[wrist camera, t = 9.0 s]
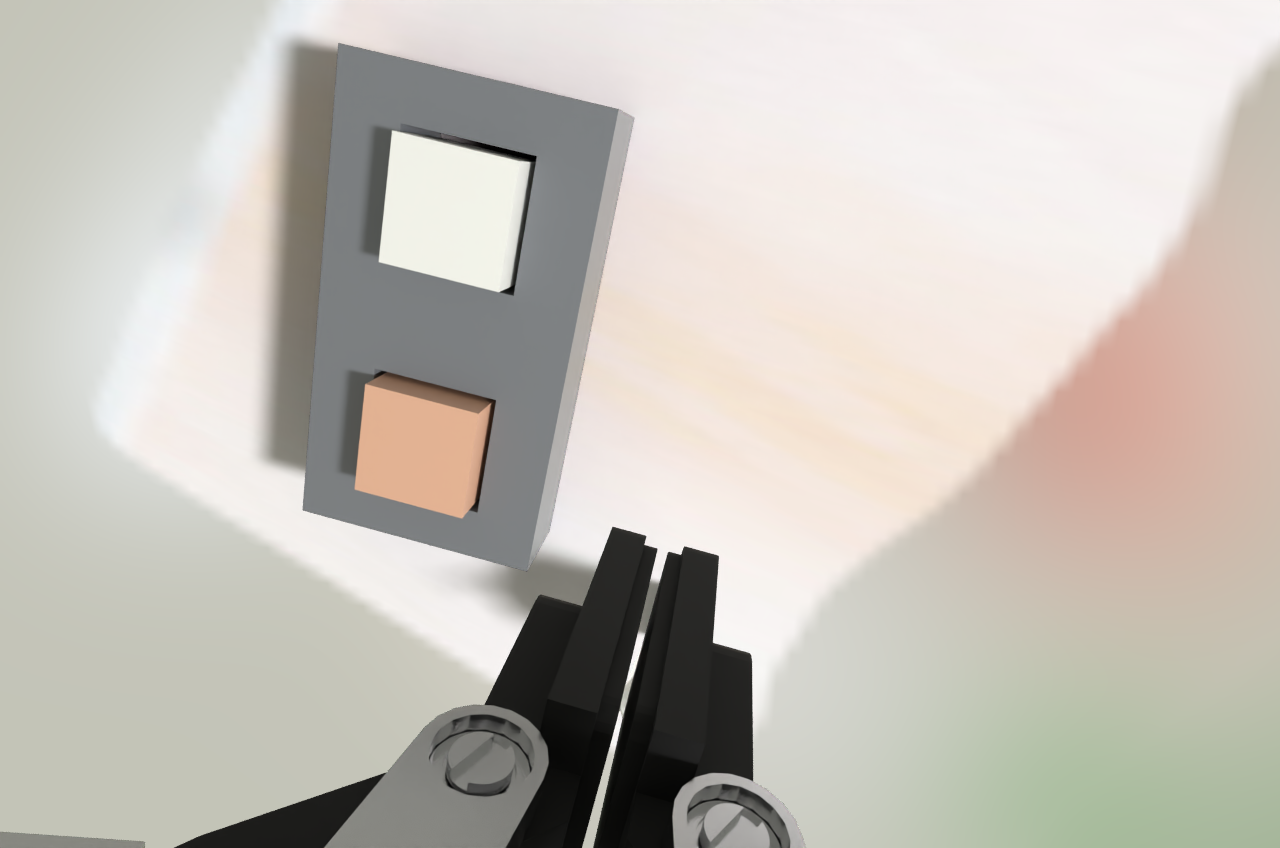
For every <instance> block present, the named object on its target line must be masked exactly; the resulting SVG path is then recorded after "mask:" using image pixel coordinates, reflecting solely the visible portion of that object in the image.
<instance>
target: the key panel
mask: <svg viewBox="0 0 1280 848" xmlns="http://www.w3.org/2000/svg"><path fill="white" fill-rule="evenodd" d="M633 122H634V117H632V116H630V115H628V114H627V113H625V112H623V111H621V110H619V109H616V108H611V107H607V106H603V105H599V104H594V103H590V102H586V101H582V100H578V99H573V98H569V97H565V96H561V95H556V94H552V93H548V92H544V91H539V90H535V89H531V88H527V87H523V86H518V85H514V84H510V83H506V82H501V81H497V80H493V79H489V78H484V77H480V76H476V75H472V74H468V73H463V72H459V71H455V70H451V69H446V68H442V67H438V66H434V65H429V64H425V63H421V62H417V61H413V60H408V59H404V58H400V57H396V56H391V55H387V54H383V53H379V52H374V51H370V50H366V49H362V48H358V47H353V46H349V45H345V44H341V43H338V56H337V69H336V82H335V95H334V108H333V121H332V134H331V147H330V160H329V173H328V186H327V199H326V212H325V225H324V239H323V252H322V265H321V278H320V291H319V304H318V317H317V330H316V343H315V356H314V369H313V382H312V395H311V408H310V421H309V434H308V447H307V460H306V473H305V486H304V499H303V511H307V512H311V513H314V514H318V515H322V516H325V517H329V518H333V519H336V520H340V521H344V522H347V523H351V524H355V525H358V526H362V527H366V528H369V529H373V530H377V531H380V532H384V533H388V534H391V535H395V536H399V537H402V538H406V539H410V540H413V541H417V542H421V543H424V544H428V545H432V546H435V547H439V548H443V549H446V550H450V551H454V552H457V553H461V554H465V555H468V556H472V557H476V558H479V559H483V560H487V561H490V562H494V563H498V564H501V565H505V566H509V567H512V568H516V569H520V570H523V571H528V569H529V567H530V566H531V564H532V562H533V560H534V558H535V557H536V555H537V553H538V551H539V549H540V547H541V546H542V544H543V542H544V540H545V538H546V537H547V535H548V533H549V531H550V526H551V521H552V516H553V511H554V506H555V501H556V497H557V492H558V487H559V482H560V477H561V472H562V467H563V463H564V458H565V453H566V448H567V443H568V438H569V433H570V428H571V424H572V419H573V414H574V409H575V404H576V399H577V394H578V390H579V385H580V380H581V375H582V370H583V365H584V360H585V355H586V351H587V346H588V341H589V336H590V331H591V326H592V321H593V317H594V312H595V307H596V302H597V297H598V292H599V287H600V282H601V278H602V273H603V268H604V263H605V258H606V253H607V248H608V244H609V239H610V234H611V229H612V224H613V219H614V214H615V209H616V205H617V200H618V195H619V190H620V185H621V180H622V175H623V171H624V166H625V161H626V156H627V151H628V146H629V141H630V136H631V132H632V127H633ZM392 130H393V131H400V132H408V133H415V134H422V135H430V136H435V137H439V138H441V133H443V134H447V135H451V136H455V137H460V138H464V139H468V140H472V141H476V142H480V143H484V144H489V145H493V146H497V147H501V148H505V149H509V150H513V151H518V152H522V153H526V154H530V155H534V156H537V159H536V165H535V171H534V177H533V183H532V189H531V195H530V201H529V207H528V213H527V219H526V225H525V231H524V237H523V243H522V249H521V255H520V261H519V267H518V273H517V279H516V284H515V285H513V286H511V287H509V288H507V289H505V290H502V291H500V292H496V291H492V290H488V289H484V288H480V287H476V286H472V285H468V284H464V283H460V282H456V281H452V280H448V279H444V278H440V277H436V276H432V275H428V274H424V273H420V272H416V271H412V270H408V269H404V268H400V267H396V266H392V265H389V264H385V263H381V262H379V254H380V244H381V234H382V224H383V215H384V205H385V195H386V185H387V176H388V166H389V156H390V146H391V137H392ZM387 372H390V373H394V374H398V375H401V376H405V377H409V378H413V379H417V380H421V381H424V382H428V383H432V384H436V385H440V386H444V387H447V388H451V389H455V390H459V391H463V392H467V393H471V394H474V395H478V396H482V397H486V398H490V399H494V400H496V405H495V411H494V417H493V423H492V429H491V435H490V441H489V447H488V453H487V459H486V465H485V471H484V477H483V483H482V489H481V495H480V498H479V499H478V500H477V501H476V502H475V504H474V505H473V506H472V507H471V508H470V510H469V511H468V512H467V513H466V514H465V516H464V517H463V518H458V517H454V516H451V515H447V514H443V513H440V512H436V511H432V510H429V509H425V508H421V507H417V506H414V505H410V504H406V503H403V502H399V501H395V500H392V499H388V498H384V497H380V496H377V495H373V494H369V493H366V492H362V491H358V490H355V480H356V470H357V460H358V450H359V441H360V431H361V421H362V411H363V402H364V392H365V384H366V383H368V382H370V381H372V380H374V379H376V378H377V377H379V376H381V375H383V374H385V373H387Z"/></svg>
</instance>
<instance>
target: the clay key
mask: <svg viewBox="0 0 1280 848" xmlns="http://www.w3.org/2000/svg"><path fill="white" fill-rule="evenodd" d="M495 405H496V400H494V399H490V398H486V397H482V396H478V395H474V394H471V393H467V392H463V391H459V390H455V389H451V388H447V387H444V386H440V385H436V384H432V383H428V382H424V381H421V380H417V379H413V378H409V377H405V376H401V375H398V374H394V373H390V372H387V373H385V374H383V375H381V376H379V377H377V378H376V379H374V380H372V381H370V382H368V383H366V384H365V392H364V402H363V411H362V421H361V431H360V441H359V450H358V460H357V470H356V480H355V490H358V491H362V492H366V493H369V494H373V495H377V496H380V497H384V498H388V499H392V500H395V501H399V502H403V503H406V504H410V505H414V506H417V507H421V508H425V509H429V510H432V511H436V512H440V513H443V514H447V515H451V516H454V517H458V518H463V517H464V516H465V514H466V513H467V512H468V511H469V510H470V508H471V507H472V506H473V505H474V504H475V502H476V501H477V500H478V499H479V498H480V495H481V489H482V483H483V477H484V471H485V465H486V459H487V453H488V447H489V441H490V435H491V429H492V423H493V417H494V411H495Z"/></svg>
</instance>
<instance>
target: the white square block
mask: <svg viewBox="0 0 1280 848" xmlns="http://www.w3.org/2000/svg"><path fill="white" fill-rule="evenodd" d="M535 165H536V161H534V160H530V159H526V158H522V157H517V156H513V155H509V154H505V153H501V152H497V151H493V150H488V149H484V148H480V147H476V146H472V145H468V144H464V143H459V142H455V141H451V140H447V139H443V138H439V137H435V136H430V135H422V134H415V133H408V132H400V131H393V130H392V137H391V146H390V156H389V166H388V176H387V185H386V195H385V205H384V215H383V224H382V234H381V244H380V254H379V262H381V263H385V264H389V265H392V266H396V267H400V268H404V269H408V270H412V271H416V272H420V273H424V274H428V275H432V276H436V277H440V278H444V279H448V280H452V281H456V282H460V283H464V284H468V285H472V286H476V287H480V288H484V289H488V290H492V291H496V292H500V291H502V290H505V289H507V288H509V287H511V286H513V285H515V284H516V279H517V273H518V267H519V261H520V255H521V249H522V243H523V237H524V231H525V225H526V219H527V213H528V207H529V201H530V195H531V189H532V183H533V177H534V171H535Z"/></svg>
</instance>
